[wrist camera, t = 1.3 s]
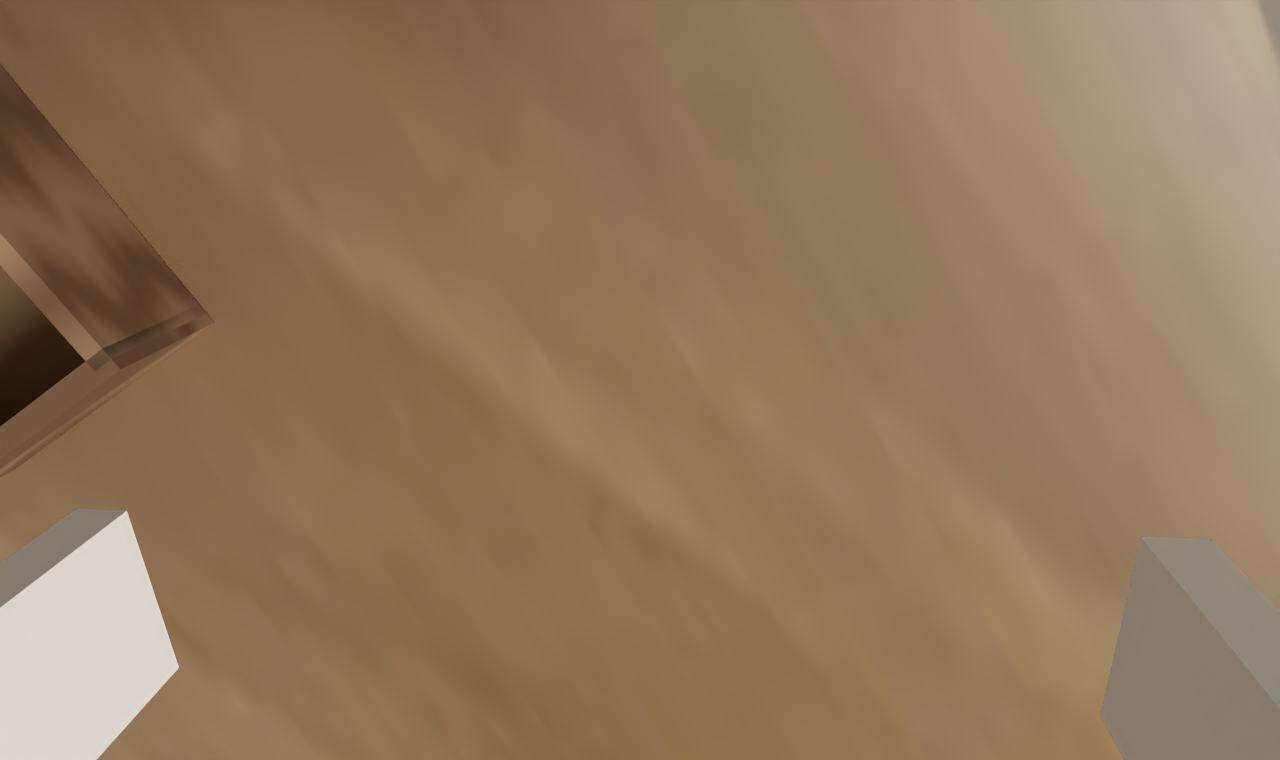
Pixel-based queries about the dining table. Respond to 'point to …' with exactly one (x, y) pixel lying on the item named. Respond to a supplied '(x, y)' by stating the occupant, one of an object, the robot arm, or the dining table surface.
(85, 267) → the box
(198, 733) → the dining table surface
